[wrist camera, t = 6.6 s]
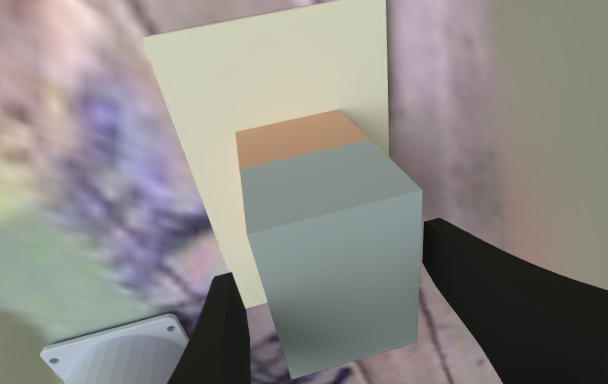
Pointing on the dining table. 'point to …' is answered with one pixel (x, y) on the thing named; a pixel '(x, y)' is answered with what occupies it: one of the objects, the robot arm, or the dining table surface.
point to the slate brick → (336, 252)
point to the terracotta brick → (295, 137)
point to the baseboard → (267, 96)
